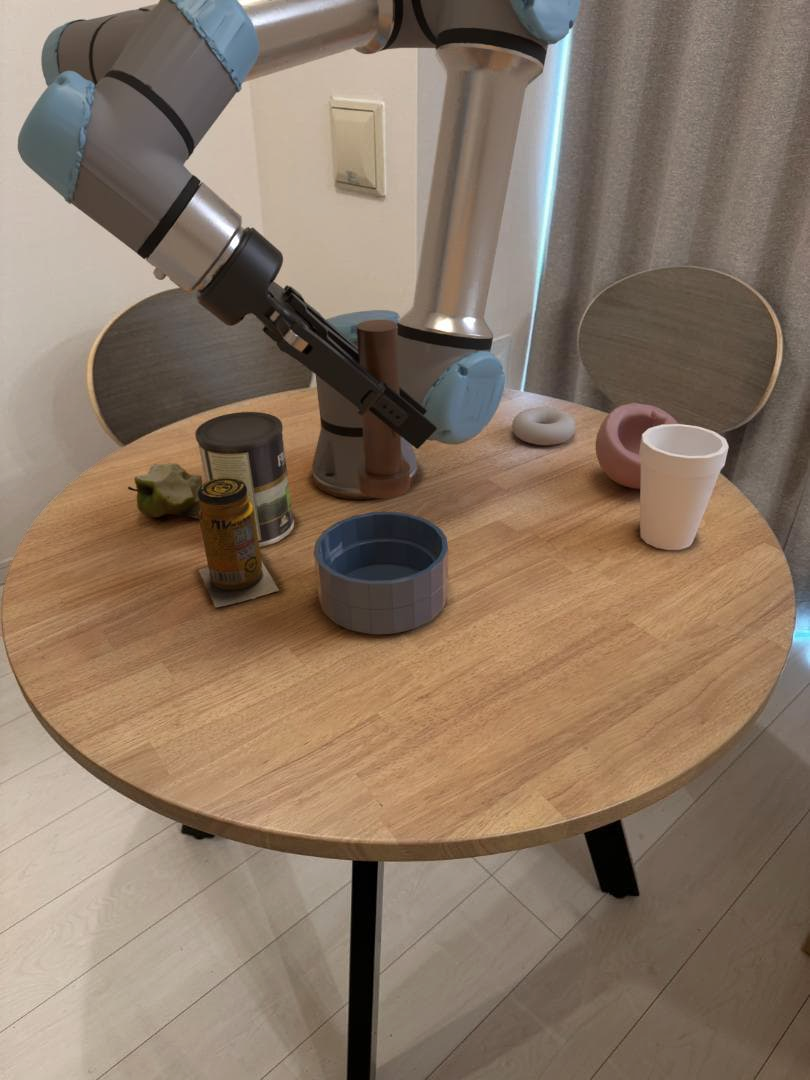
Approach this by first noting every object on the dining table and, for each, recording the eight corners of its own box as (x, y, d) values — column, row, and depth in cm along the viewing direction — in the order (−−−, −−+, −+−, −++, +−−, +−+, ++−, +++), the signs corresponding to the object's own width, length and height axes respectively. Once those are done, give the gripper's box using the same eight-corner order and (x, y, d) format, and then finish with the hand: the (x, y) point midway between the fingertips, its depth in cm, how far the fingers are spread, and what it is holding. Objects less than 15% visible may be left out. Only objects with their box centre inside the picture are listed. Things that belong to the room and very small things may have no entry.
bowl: (325, 563, 88) (320, 513, 85) (443, 560, 88) (443, 509, 85) (314, 640, 76) (308, 585, 73) (451, 636, 76) (452, 581, 73)
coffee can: (287, 503, 101) (275, 406, 94) (300, 541, 93) (288, 438, 85) (211, 515, 99) (192, 417, 91) (217, 555, 91) (197, 451, 83)
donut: (515, 450, 114) (580, 448, 113) (515, 430, 112) (582, 427, 112) (508, 424, 122) (569, 422, 122) (508, 405, 120) (570, 402, 120)
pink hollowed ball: (627, 512, 97) (639, 431, 91) (574, 474, 106) (582, 399, 100) (698, 492, 101) (715, 414, 95) (641, 458, 110) (653, 385, 104)
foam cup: (710, 560, 87) (734, 461, 80) (629, 553, 88) (645, 455, 82) (700, 520, 95) (720, 426, 88) (625, 514, 96) (640, 421, 89)
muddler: (359, 474, 76) (348, 317, 67) (409, 473, 76) (405, 316, 67) (357, 499, 71) (346, 334, 63) (411, 497, 71) (407, 333, 63)
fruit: (152, 543, 96) (125, 490, 92) (144, 516, 103) (119, 466, 99) (219, 515, 98) (196, 462, 94) (206, 491, 106) (184, 441, 101)
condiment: (258, 555, 90) (244, 467, 84) (279, 591, 84) (266, 499, 77) (198, 571, 88) (179, 482, 81) (215, 610, 81) (196, 516, 75)
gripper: (195, 273, 68) (381, 423, 79) (185, 323, 54) (412, 496, 65) (246, 207, 66) (429, 371, 77) (249, 241, 52) (472, 434, 63)
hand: (421, 428), depth 71 cm, fingers closed on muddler, 4 cm apart
